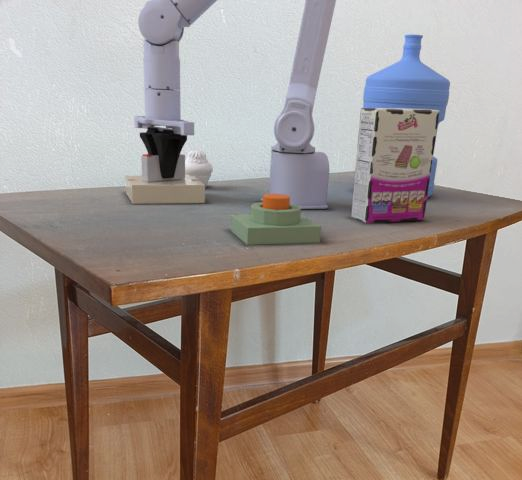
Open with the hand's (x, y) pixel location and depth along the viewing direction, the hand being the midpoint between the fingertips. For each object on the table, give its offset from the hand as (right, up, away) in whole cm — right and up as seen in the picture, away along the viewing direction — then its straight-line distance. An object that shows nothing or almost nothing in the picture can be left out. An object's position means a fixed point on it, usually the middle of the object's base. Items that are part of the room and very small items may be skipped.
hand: (164, 177), depth 100 cm
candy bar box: (+36, -9, -6) cm, 38 cm away
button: (+18, -11, -22) cm, 31 cm away
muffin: (+4, +2, +13) cm, 14 cm away
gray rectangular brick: (0, 0, 0) cm, 0 cm away
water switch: (+18, -14, -21) cm, 31 cm away
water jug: (+43, +2, +18) cm, 46 cm away
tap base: (0, -3, +1) cm, 3 cm away
